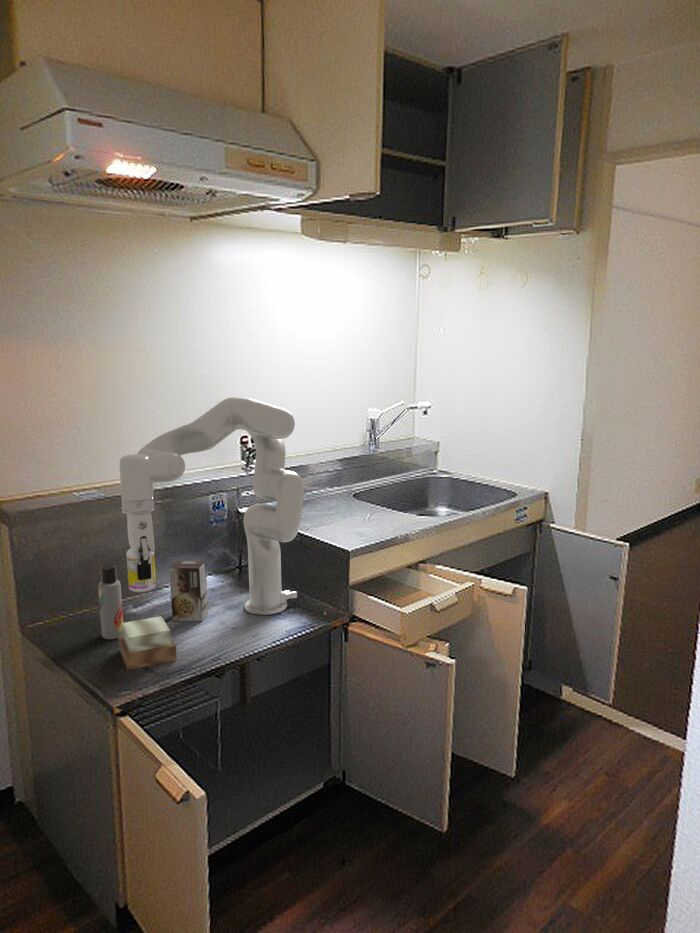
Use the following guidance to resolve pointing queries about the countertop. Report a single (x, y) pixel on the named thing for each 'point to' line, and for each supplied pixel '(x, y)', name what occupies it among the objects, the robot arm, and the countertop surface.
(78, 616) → the countertop surface
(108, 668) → the countertop surface
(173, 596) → the coffee box
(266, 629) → the countertop surface
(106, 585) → the lotion bottle
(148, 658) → the cream slab tan edge
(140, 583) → the supplement bottle
